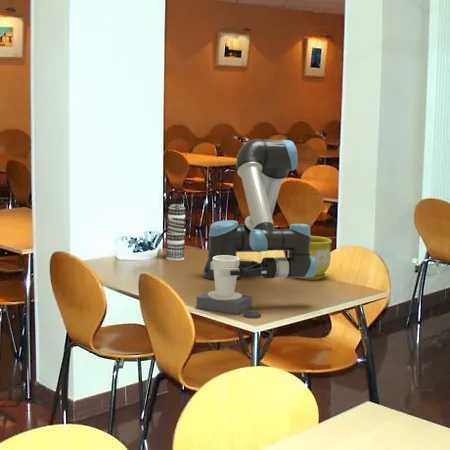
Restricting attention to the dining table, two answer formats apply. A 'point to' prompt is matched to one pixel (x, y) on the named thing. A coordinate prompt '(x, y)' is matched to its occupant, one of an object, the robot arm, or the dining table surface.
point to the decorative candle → (176, 232)
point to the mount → (224, 302)
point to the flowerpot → (320, 255)
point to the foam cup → (224, 284)
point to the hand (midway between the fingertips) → (215, 269)
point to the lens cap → (252, 314)
